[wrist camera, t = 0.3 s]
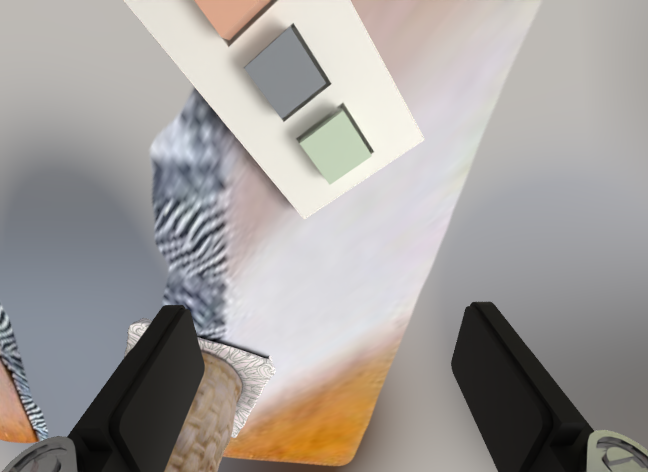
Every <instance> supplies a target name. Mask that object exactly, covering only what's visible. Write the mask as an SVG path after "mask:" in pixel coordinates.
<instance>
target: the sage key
mask: <svg viewBox="0 0 648 472" xmlns="http://www.w3.org/2000/svg"><path fill="white" fill-rule="evenodd" d="M300 145H301V146H302V148H303V149H304V150H305V152H306V153H307V155H308V156H309V157H310V159H311V160H312V161H313V163H314V164H315V165H316V167H317V168H318V169H319V171H320V172H321V174H322V175H323V176H324V178H325V179H326V180H327V182H328V183H329V184H332V183H333V182H335V181H336V180H338V179H339V178H341V177H342V176H344V175H345V174H347V173H348V172H349V171H351V170H352V169H354V168H355V167H357V166H358V165H360V164H361V163H363V162H364V161H366V160H367V159H368V158H370V157H371V156H372V155H371V153H370V152H369V150H368V148H367V147H366V145H365V144H364V142H363V141H362V139H361V137H360V136H359V134H358V133H357V131H356V130H355V128H354V126H353V125H352V123H351V122H350V120H349V118H348V117H347V115H346V114H345V112H344V111H343V109H340V110H339V111H338V112H336V113H335V114H334V115H332V116H331V117H330V118H328V119H327V120H326V121H324V122H323V123H322V124H321V125H319V126H318V127H317V128H315V129H314V130H313V131H311V132H310V133H309V134H307V135H306V136H305V137H303V138H302V139H301V141H300Z"/></svg>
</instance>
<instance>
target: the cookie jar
mask: <svg viewBox="0 0 648 472" xmlns="http://www.w3.org/2000/svg"><path fill="white" fill-rule="evenodd" d="M151 322H152V321H151V320H149V319H146V318H143V319H141V320H139V321H137V322H134V323H133V324H132V325H130V326H129V329H128V340H127V348H126V351H125V356H126V355H127V354H128V352H129V351H130V350H131V349H132V348H133V347H134V346H135V344H136V343H137V342H138V340H139V339H140V337H141V336H142V335H143V333H144V332H145V331H146V329H147V328H148V326H149V325H150V324H151ZM197 338H198V341H199V345H200V349H201V352H202V356H203V360H204V364H205V371H204V375H203V378H202V380H201V383H200V385H199V387H198V390H197V392H196V395H195V397H194V400H193V402H192V405H191V407H190V409H189V412H188V414H187V417H186V419H185V422H184V424H183V427H182V429H181V432H180V434H179V436H178V439H177V441H176V444H175V446H174V449H173V451H172V454H171V456H170V458H169V461H168V463H167V466H166V468H165V471H164V472H217V471H218V467H219V463H220V462H221V459H222V456H223V453H224V450H225V448H226V447H227V445H228V443H229V441H230V438H231V437H233V438H235V437H237V435H238V433H239V431H240V430H241V429H242V427H243V426H244V424H245V422H246V420H247V419H248V415H250V412H251V410H252V409H253V408H254V406H255V403H256V401H257V400H258V398H259V396H260V394H261V393H262V391H263V389H264V387H265V385H266V384H267V383H268V381H269V380H270V378H271V376H273V375H274V374H275V367H274V366H273V364H272V357H271V356H269V359H266V358H263V357H260V356H257V355H254V354H251V353H249V352H246V351H243V350H240V349H237V348H233V347H230V346H226V345H223V344H219V343H216V342H212V341H209V340H205V339H202V338H199V337H197ZM125 356H124V358H125Z"/></svg>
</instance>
